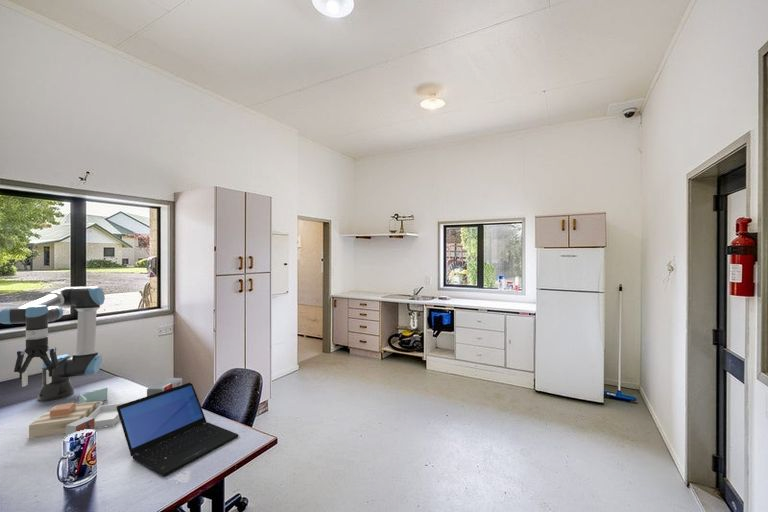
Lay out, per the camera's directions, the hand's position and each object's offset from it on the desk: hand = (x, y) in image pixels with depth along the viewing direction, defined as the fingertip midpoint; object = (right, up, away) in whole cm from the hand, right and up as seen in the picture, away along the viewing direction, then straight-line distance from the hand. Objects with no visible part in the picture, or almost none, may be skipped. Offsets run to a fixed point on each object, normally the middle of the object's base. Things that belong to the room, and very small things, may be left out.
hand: (36, 384), depth 161 cm
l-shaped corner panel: (+8, -22, +24) cm, 34 cm away
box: (+26, -21, +10) cm, 35 cm away
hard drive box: (+59, -22, +5) cm, 63 cm away
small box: (+34, -22, -14) cm, 43 cm away
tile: (+9, -15, +4) cm, 18 cm away
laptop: (+77, -22, -13) cm, 81 cm away
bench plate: (+10, -21, +4) cm, 24 cm away
